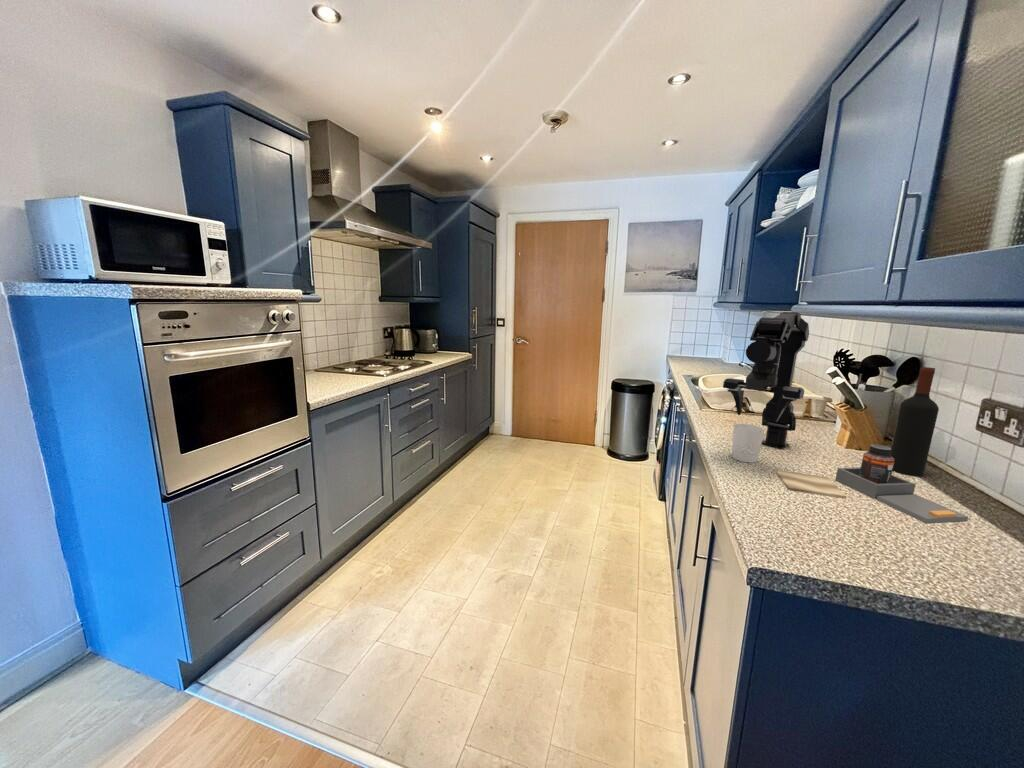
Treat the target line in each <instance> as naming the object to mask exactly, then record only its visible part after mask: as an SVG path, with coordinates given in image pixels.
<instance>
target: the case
mask: <svg viewBox="0 0 1024 768" xmlns="http://www.w3.org/2000/svg"><path fill="white" fill-rule="evenodd" d="M860 469H861V466H860V467H837V470H836V476H835V481H836V482H838V483H840V484H842V485H844V486H846V487H849V488H851V489H853V490H855V491H857V492H859V493H862V495H863V494H864V495H865V496H867V497H870V498H872V499H874V500H876V501H879V502H880V503H883V504H885V505H886V506H889V507H892V508H893V509H896V510H897V511H899V512H902V513H903V514H905V515H908V516H909V517H913V518H914V519H915V520H918V521H920V522H922V523H925V524H931V523H951V522H953V521H954V522H967V521H969V516H967V515H965V514H963V513H961V512H958V511H956V510H954V509H951V508H948V507H946V506H943V505H942V504H939V503H938V502H934V501H932V500H929V499H927V498H925V497H923V496H920V495H919V494H915V489H916V485H917V484H916V483H914V482H911V481H909V480H907V479H904V478H901V477H899V476H896V475H894V474H892V475H891V480H890V484H876V483H874V482H872V481H869V480H867V479H865V478H862V477H860V476H859V474H860Z"/></svg>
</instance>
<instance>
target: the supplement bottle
mask: <svg viewBox="0 0 1024 768" xmlns="http://www.w3.org/2000/svg"><path fill="white" fill-rule="evenodd" d="M890 454H891V447H889V446H887V445H881V444H876V443H875V444H870V447H869V450H868V451H866V452H864V453H863V455H862V460H861V465H860V467H861V469H860V474H859V476H860V477H862V478H865V479H867V480H869V481H872V482H874V483H876V484H890V480H891V475H893V474H892V473H893V472H894V471H893V466H894V458H893V457H891V455H890Z"/></svg>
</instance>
